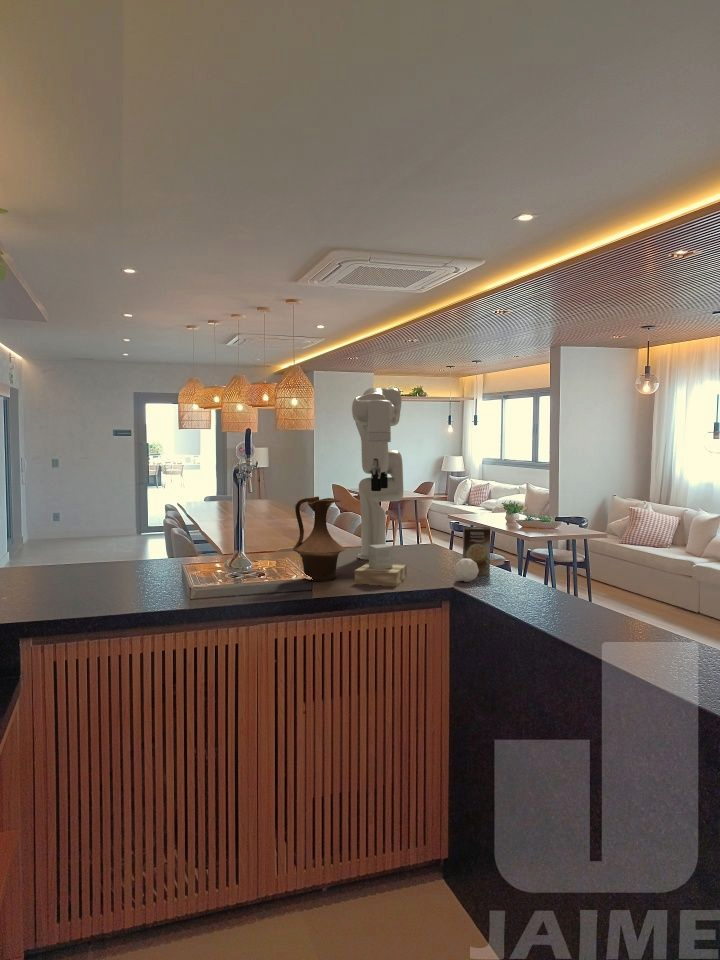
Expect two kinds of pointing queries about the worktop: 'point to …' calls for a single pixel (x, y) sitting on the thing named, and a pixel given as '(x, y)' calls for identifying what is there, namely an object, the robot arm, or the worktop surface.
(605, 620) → the worktop surface
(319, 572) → the pitcher
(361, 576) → the birch block
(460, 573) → the geometric ball
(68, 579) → the worktop surface
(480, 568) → the coffee box
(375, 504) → the robot arm
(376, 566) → the product box
